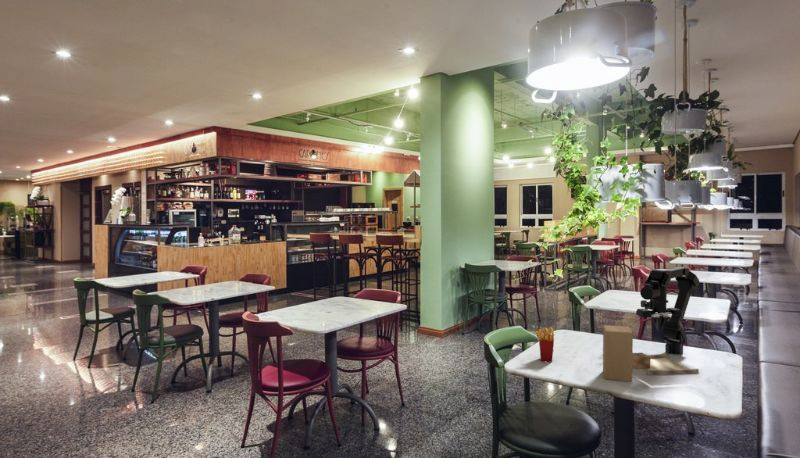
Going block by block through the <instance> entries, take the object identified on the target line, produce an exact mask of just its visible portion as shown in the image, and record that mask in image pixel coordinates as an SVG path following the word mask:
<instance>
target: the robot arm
mask: <svg viewBox="0 0 800 458" xmlns="http://www.w3.org/2000/svg"><path fill="white" fill-rule="evenodd" d="M671 279H675V281H676V283H677V284H676V287H677V289H678V294H677V297H676V301H675V304H674V306H673V307H667V304H668V303H669V300H667V299H668V297H667V295H668V293H667V288H669V287H670V286H669V284H668V283H669V282H670V281H671ZM700 283H701V282H700V280H699V278H698V276H697V274H695V273H694V272H692V271H691V270H690V269H689V267H685V266H675V267H672V268H668V269H655V268H653V269H651V270H650V272H649V273H648V275H647V279H646V281H645V283H644V287H642V288H641V290H640V291H639V292H640V293H639V294H640V296H641V298H642V300H640V307H641V308H637V309H636V311H635V312H636V313H635V315H637V316H638V317H641V318H651V319H652V321H653V323H654V326H655V328H656V331H657V332H661V337H662V340H664V341H666V343H665V346H664V347H665V348H664V349H665V350H664V351H665V354H668V355H683V354H684V345H685V344H687V342H688V336H687V335H686V334H685V328H684V325H683V320H684V317H685V315H686V312H687V308H688V305H689V302H690V298H691V296H692V295H693V294H695V292H697V290H698V287H699V286H700ZM669 315H671V316H669Z"/></svg>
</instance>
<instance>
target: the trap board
mask: <svg viewBox="0 0 800 458" xmlns="http://www.w3.org/2000/svg"><path fill="white" fill-rule="evenodd" d="M647 355H648V356H649V357H650V369H637V370H638V371H641V372H645V371H646V375H647V376H662V375H684V374H687V375H688V374H699V370H700V369H699V368H690V367H687V366H686V365H683V364H681V363H679V362H678V361H675V360H673V359H671V358H669V354H668V353H662V354H661V353H657V354H647Z"/></svg>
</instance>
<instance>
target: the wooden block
mask: <svg viewBox="0 0 800 458" xmlns="http://www.w3.org/2000/svg"><path fill="white" fill-rule="evenodd" d="M602 327H603V328H602V332H603V333H602V372H603V375H604V379H605V380H611V381H620V382H621V381H622V382H630V383H631V382H633V367H632V356H633V353H634V352H633V350H634V349H633V346H634V345H633V342H634V341H633V340H634V334H633V331H632V329H631V328H630V327H629V326H626V325H625V326H623V325H621V326H620V325H608V324H607V325H606V324H604V325H603V326H602Z"/></svg>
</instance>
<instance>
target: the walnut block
mask: <svg viewBox="0 0 800 458" xmlns="http://www.w3.org/2000/svg"><path fill="white" fill-rule="evenodd" d="M648 355H649V354H646V353H643V352H633V356H632V368H634V369H635V370H638V369H650V357H649V356H648Z"/></svg>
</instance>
